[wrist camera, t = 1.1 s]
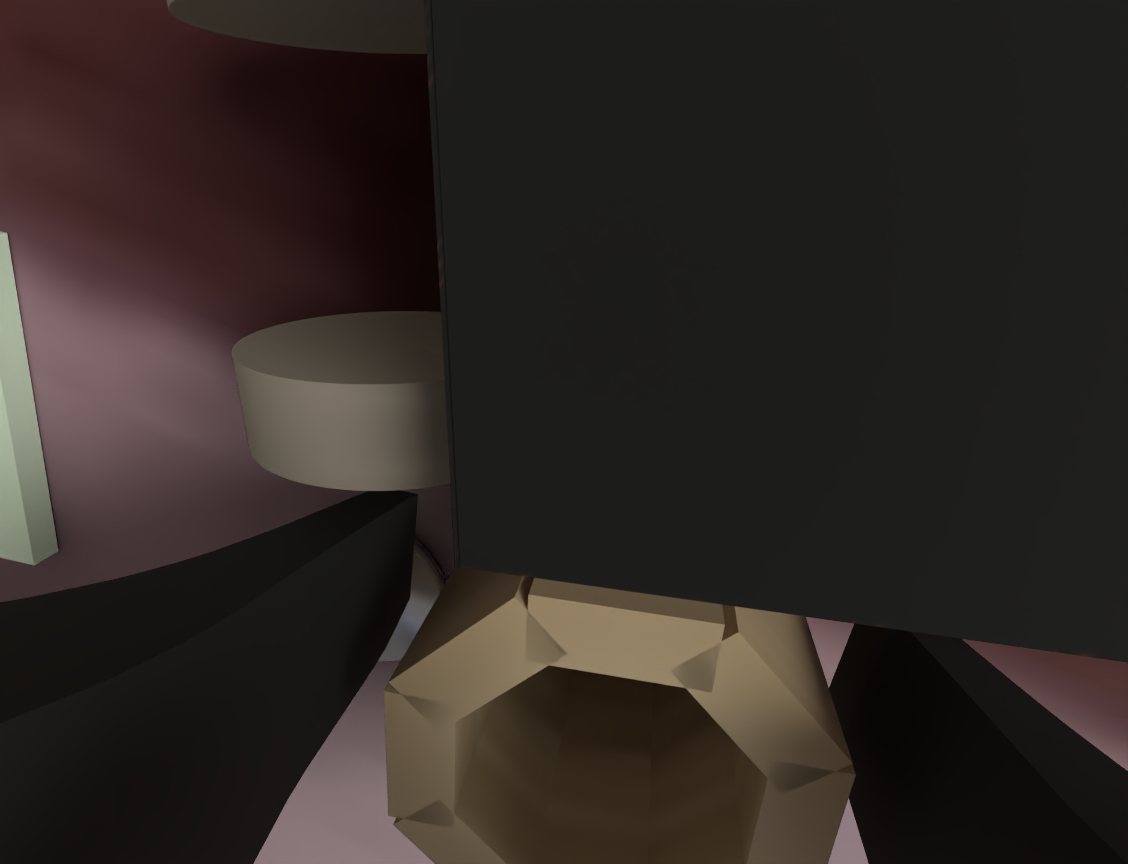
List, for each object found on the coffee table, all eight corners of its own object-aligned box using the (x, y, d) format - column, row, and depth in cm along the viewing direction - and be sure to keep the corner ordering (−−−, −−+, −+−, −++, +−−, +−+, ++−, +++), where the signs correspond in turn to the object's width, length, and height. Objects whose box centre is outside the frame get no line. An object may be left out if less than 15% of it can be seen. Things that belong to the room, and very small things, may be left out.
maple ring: (745, 707, 13) (788, 987, 8) (485, 662, 14) (391, 901, 9) (800, 461, 11) (895, 650, 6) (494, 423, 12) (379, 571, 7)
